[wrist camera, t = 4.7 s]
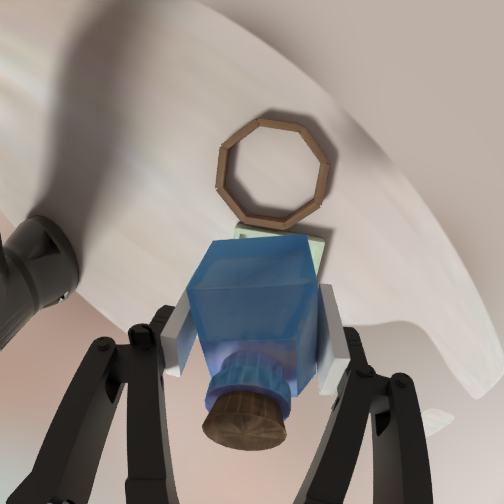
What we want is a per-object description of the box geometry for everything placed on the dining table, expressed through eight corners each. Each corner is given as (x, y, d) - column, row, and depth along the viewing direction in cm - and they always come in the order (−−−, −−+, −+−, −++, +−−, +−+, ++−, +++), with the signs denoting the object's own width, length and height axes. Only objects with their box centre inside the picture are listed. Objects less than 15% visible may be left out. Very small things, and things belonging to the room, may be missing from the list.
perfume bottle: (213, 240, 19) (138, 378, 8) (306, 233, 18) (335, 382, 7) (227, 315, 21) (188, 457, 11) (308, 311, 21) (321, 461, 10)
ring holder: (214, 215, 33) (212, 218, 31) (226, 115, 28) (223, 114, 27) (313, 231, 32) (315, 235, 31) (333, 131, 27) (335, 132, 26)
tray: (228, 296, 37) (226, 302, 36) (237, 223, 33) (235, 227, 31) (304, 308, 37) (305, 315, 35) (323, 238, 32) (325, 242, 31)
